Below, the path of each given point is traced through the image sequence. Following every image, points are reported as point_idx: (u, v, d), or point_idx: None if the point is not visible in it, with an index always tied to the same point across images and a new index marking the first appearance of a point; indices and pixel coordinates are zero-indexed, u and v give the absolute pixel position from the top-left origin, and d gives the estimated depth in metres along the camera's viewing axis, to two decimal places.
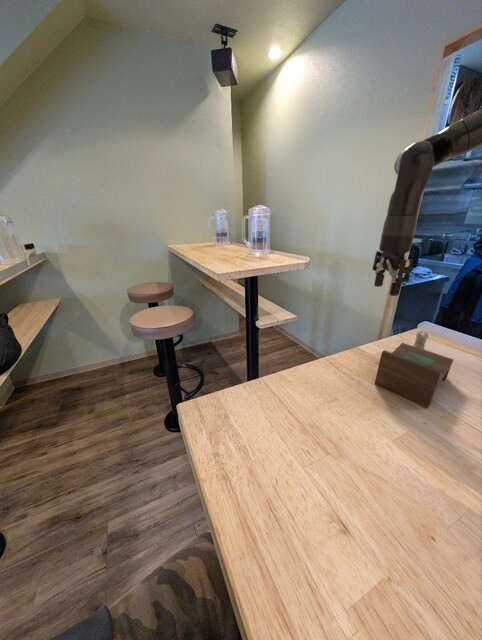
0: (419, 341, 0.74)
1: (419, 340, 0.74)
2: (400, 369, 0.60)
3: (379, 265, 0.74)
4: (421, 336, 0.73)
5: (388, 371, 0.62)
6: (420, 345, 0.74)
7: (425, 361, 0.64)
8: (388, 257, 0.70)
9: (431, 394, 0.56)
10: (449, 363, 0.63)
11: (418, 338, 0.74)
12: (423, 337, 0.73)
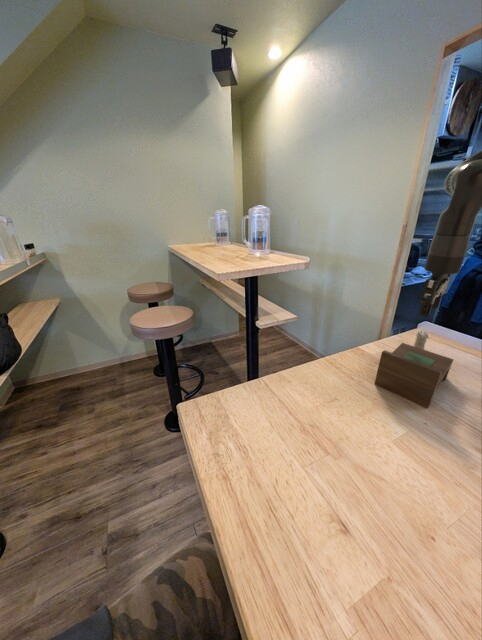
0: (419, 341, 0.74)
1: (419, 340, 0.74)
2: (400, 369, 0.60)
3: None
4: (421, 336, 0.73)
5: (388, 371, 0.62)
6: (420, 345, 0.74)
7: (425, 361, 0.64)
8: None
9: (431, 394, 0.56)
10: (449, 363, 0.63)
11: (418, 338, 0.74)
12: (423, 337, 0.73)
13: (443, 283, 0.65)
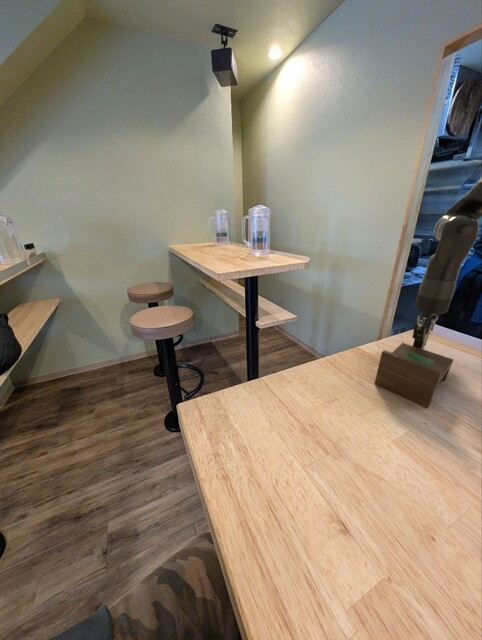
0: None
1: None
2: (400, 369, 0.60)
3: None
4: None
5: (388, 371, 0.62)
6: None
7: (425, 361, 0.64)
8: None
9: (431, 394, 0.56)
10: (449, 363, 0.63)
11: None
12: None
13: (432, 322, 0.69)
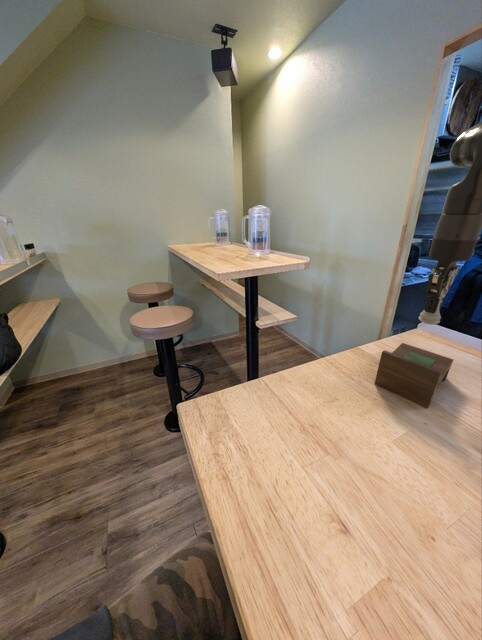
0: None
1: None
2: (400, 369, 0.60)
3: None
4: None
5: (388, 371, 0.62)
6: None
7: (425, 361, 0.64)
8: None
9: (431, 394, 0.56)
10: (449, 363, 0.63)
11: None
12: None
13: (451, 274, 0.55)
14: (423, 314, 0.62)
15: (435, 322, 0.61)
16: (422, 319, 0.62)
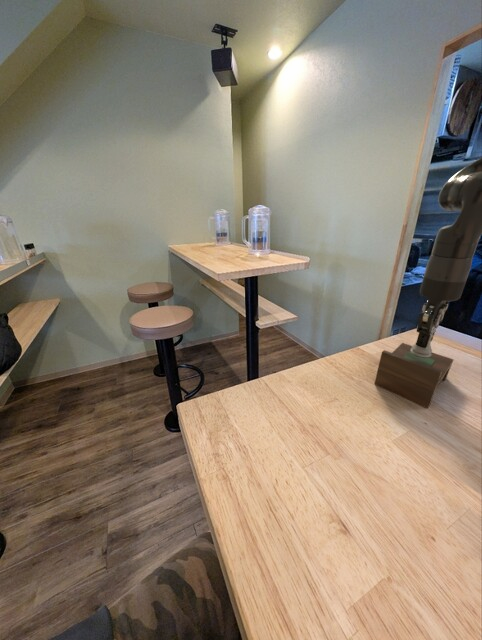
0: None
1: None
2: (400, 369, 0.60)
3: None
4: None
5: (388, 371, 0.62)
6: None
7: (425, 361, 0.64)
8: None
9: (431, 394, 0.56)
10: (449, 363, 0.63)
11: None
12: None
13: (441, 312, 0.56)
14: (415, 347, 0.63)
15: (426, 356, 0.62)
16: (414, 352, 0.63)
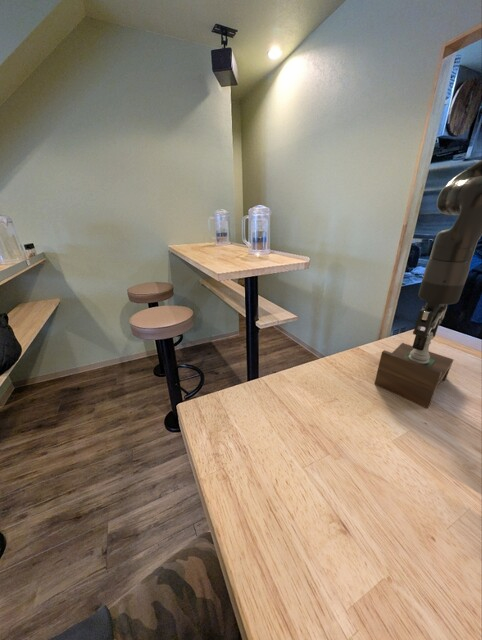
0: None
1: None
2: (400, 369, 0.60)
3: None
4: None
5: (388, 371, 0.62)
6: None
7: None
8: None
9: (431, 394, 0.56)
10: (449, 363, 0.63)
11: None
12: None
13: (440, 314, 0.56)
14: (413, 354, 0.64)
15: (424, 362, 0.63)
16: (412, 358, 0.64)
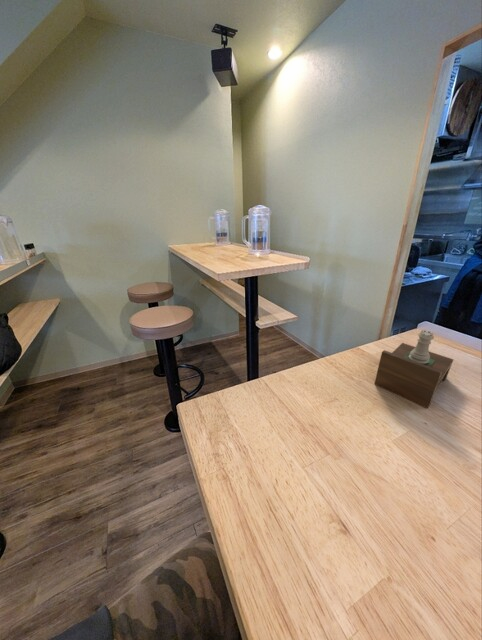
0: (422, 342, 0.61)
1: (422, 341, 0.61)
2: (400, 369, 0.60)
3: None
4: (425, 336, 0.61)
5: (388, 371, 0.62)
6: (423, 347, 0.62)
7: None
8: None
9: (431, 394, 0.56)
10: (449, 363, 0.63)
11: (421, 338, 0.61)
12: (427, 337, 0.60)
13: None
14: (413, 353, 0.64)
15: (424, 362, 0.63)
16: (412, 358, 0.64)
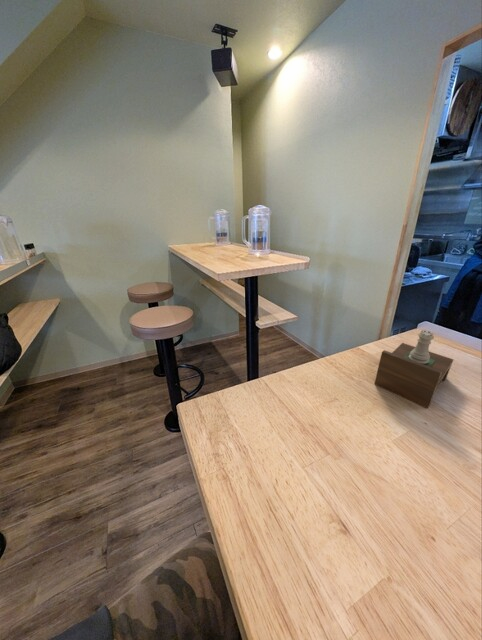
0: (422, 342, 0.61)
1: (422, 341, 0.61)
2: (400, 369, 0.60)
3: None
4: (425, 336, 0.61)
5: (388, 371, 0.62)
6: (423, 347, 0.62)
7: None
8: None
9: (431, 394, 0.56)
10: (449, 363, 0.63)
11: (421, 338, 0.61)
12: (427, 337, 0.60)
13: None
14: (413, 353, 0.64)
15: (424, 362, 0.63)
16: (412, 358, 0.64)
